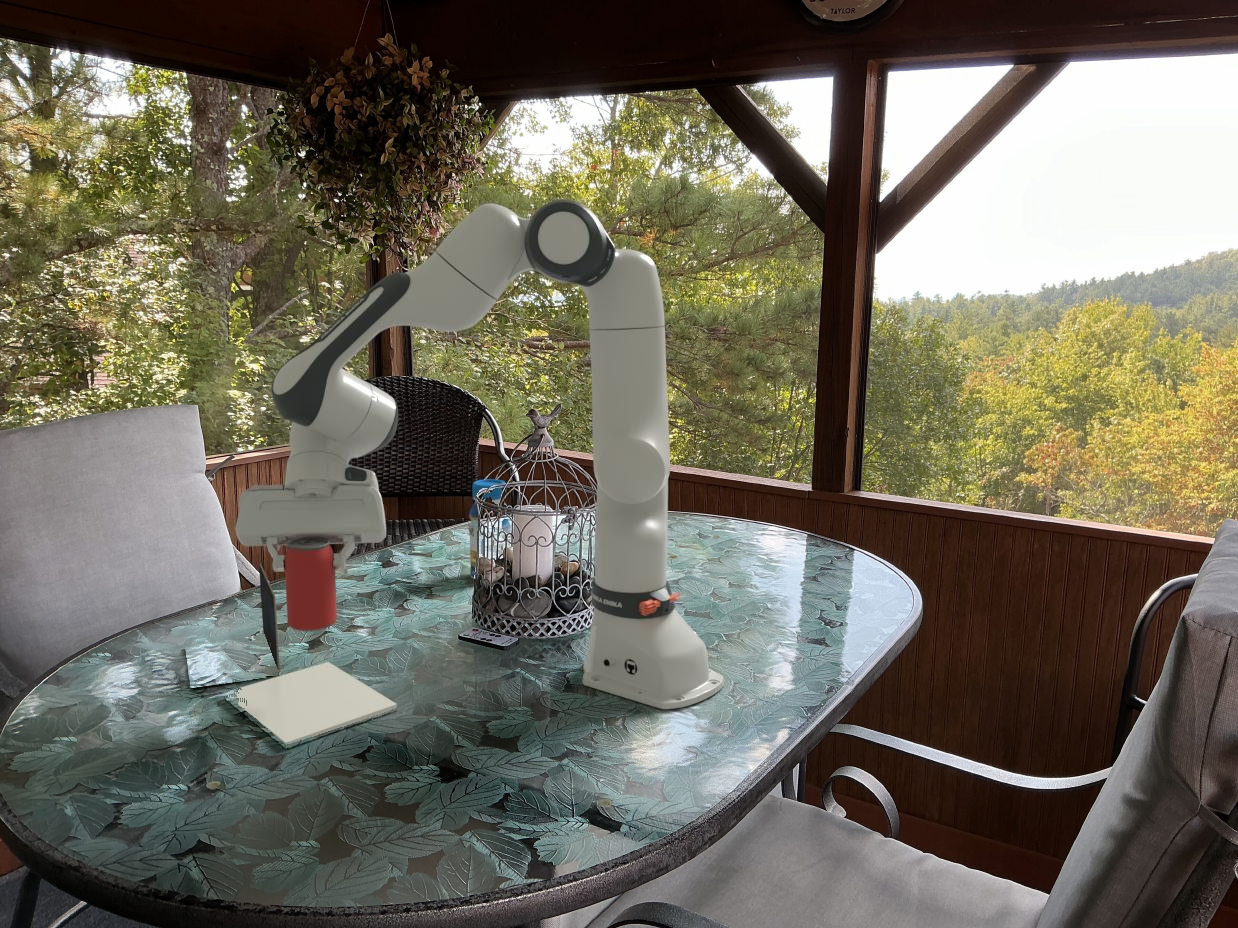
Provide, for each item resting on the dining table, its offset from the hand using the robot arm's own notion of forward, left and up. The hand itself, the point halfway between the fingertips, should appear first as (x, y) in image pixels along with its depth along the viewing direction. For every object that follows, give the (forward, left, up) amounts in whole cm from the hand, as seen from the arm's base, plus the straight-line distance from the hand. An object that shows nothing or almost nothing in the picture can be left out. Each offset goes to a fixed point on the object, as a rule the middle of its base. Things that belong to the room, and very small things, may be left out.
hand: (309, 568), depth 124 cm
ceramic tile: (0, +1, -20) cm, 20 cm away
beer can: (+1, 0, -9) cm, 9 cm away
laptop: (+23, +3, -20) cm, 30 cm away
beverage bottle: (+30, -53, -20) cm, 64 cm away
